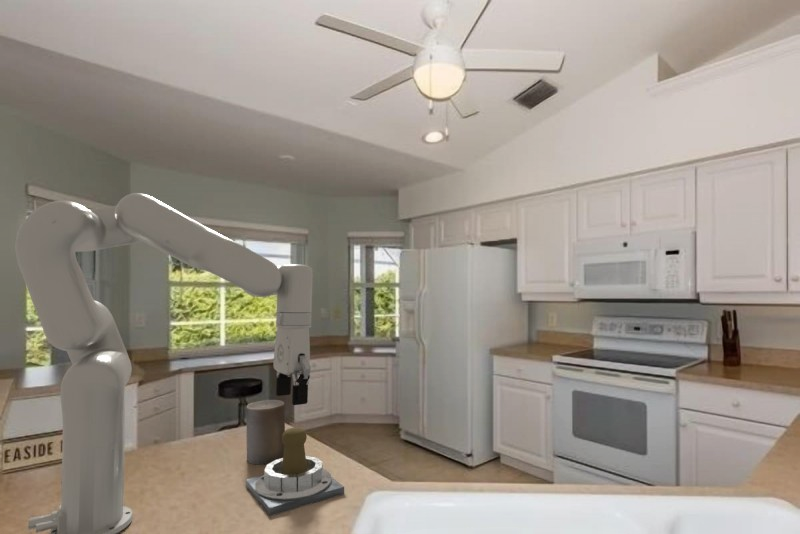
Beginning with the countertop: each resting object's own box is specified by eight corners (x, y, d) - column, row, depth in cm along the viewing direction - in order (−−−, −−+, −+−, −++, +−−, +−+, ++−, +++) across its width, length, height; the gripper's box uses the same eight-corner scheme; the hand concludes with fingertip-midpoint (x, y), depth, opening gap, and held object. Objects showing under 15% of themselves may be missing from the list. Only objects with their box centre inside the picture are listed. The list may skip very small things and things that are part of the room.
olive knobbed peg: (277, 478, 99) (277, 427, 99) (305, 473, 101) (304, 423, 102) (282, 489, 93) (282, 435, 94) (311, 483, 96) (311, 430, 96)
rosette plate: (269, 516, 86) (269, 488, 87) (245, 486, 100) (246, 462, 100) (344, 493, 95) (344, 469, 96) (313, 469, 109) (313, 447, 109)
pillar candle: (291, 451, 121) (290, 394, 122) (275, 465, 111) (275, 404, 112) (256, 450, 122) (256, 394, 123) (238, 464, 112) (238, 403, 113)
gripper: (264, 318, 104) (261, 393, 103) (291, 323, 90) (288, 410, 89) (295, 318, 108) (293, 390, 107) (326, 322, 94) (323, 405, 93)
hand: (291, 399), depth 98 cm, fingers open, 9 cm apart
